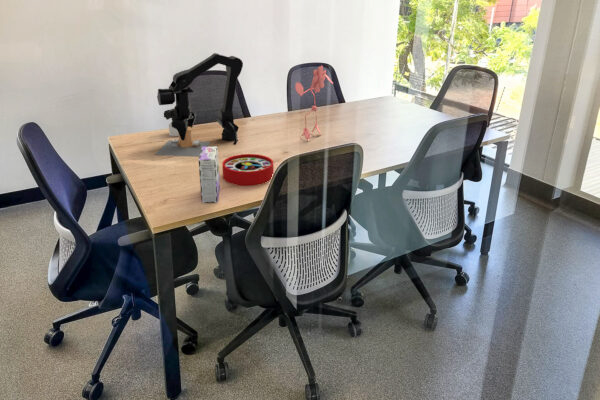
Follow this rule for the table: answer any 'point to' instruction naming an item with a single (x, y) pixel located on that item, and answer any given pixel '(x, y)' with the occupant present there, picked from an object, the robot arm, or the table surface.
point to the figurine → (317, 83)
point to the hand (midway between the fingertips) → (185, 137)
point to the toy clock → (247, 169)
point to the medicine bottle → (173, 129)
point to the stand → (182, 149)
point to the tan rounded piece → (187, 139)
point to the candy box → (209, 174)
